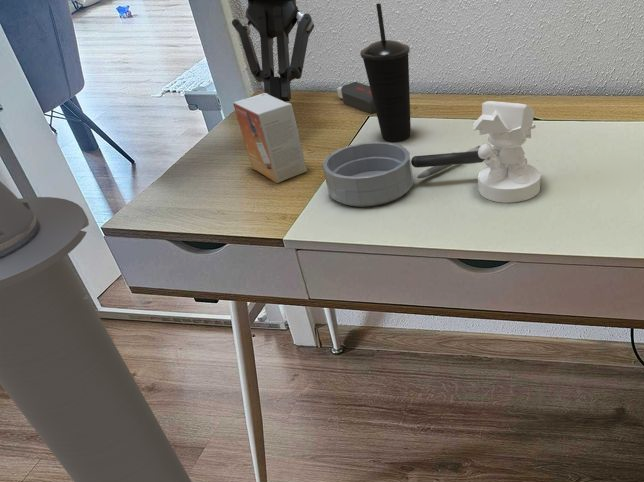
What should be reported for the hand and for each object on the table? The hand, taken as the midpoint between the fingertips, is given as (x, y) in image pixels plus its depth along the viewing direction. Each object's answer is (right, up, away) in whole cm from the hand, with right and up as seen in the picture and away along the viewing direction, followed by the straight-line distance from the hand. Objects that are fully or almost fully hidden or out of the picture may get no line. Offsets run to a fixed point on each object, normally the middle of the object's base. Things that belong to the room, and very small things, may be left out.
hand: (279, 120), depth 100 cm
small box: (+1, -9, -2) cm, 9 cm away
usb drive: (+10, +10, +20) cm, 24 cm away
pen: (+28, -9, -5) cm, 30 cm away
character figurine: (+36, -14, -11) cm, 40 cm away
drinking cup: (+18, -1, +6) cm, 19 cm away
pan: (+16, -13, -9) cm, 23 cm away
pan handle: (+27, -10, -11) cm, 31 cm away
